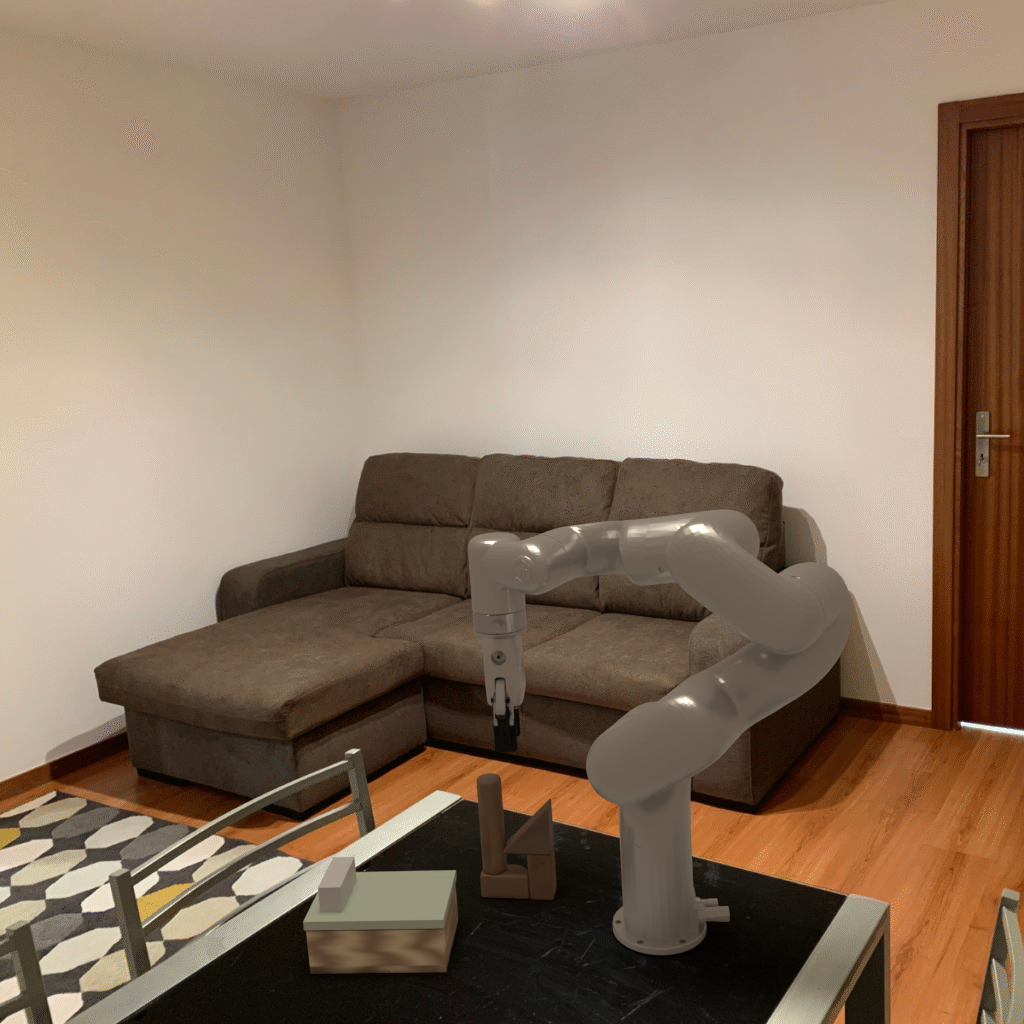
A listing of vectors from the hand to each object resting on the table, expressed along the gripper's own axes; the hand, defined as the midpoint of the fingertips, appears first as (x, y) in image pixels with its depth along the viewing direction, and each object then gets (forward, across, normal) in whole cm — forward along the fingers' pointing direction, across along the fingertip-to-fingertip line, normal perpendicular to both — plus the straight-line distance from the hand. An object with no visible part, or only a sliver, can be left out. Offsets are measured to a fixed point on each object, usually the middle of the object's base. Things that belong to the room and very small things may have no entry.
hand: (508, 742), depth 146 cm
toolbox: (+23, -13, +17) cm, 32 cm away
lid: (+17, -13, +17) cm, 27 cm away
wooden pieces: (+24, 0, 0) cm, 24 cm away
